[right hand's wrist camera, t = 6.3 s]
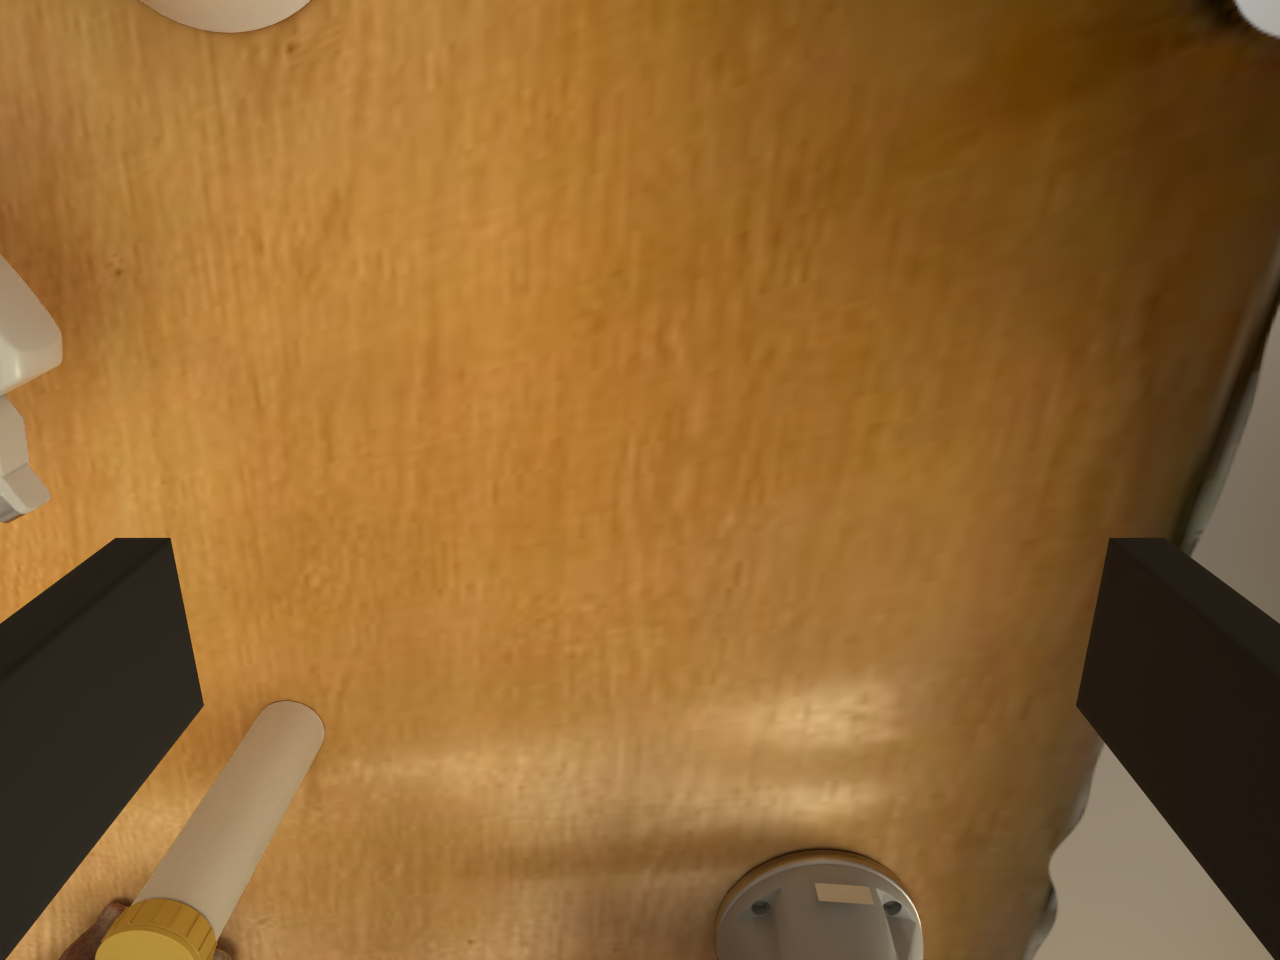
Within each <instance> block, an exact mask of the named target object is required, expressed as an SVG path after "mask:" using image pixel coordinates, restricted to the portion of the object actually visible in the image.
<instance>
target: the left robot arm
mask: <svg viewBox="0 0 1280 960" xmlns="http://www.w3.org/2000/svg"><path fill="white" fill-rule="evenodd" d="M140 1H141V2H143V3H144V4H145V5H147V6H148V7H150V8H151V9H153V10H155V11H156V12H158V13H160V14H162V15H163V16H165V17H167V18H169V19H172V20H174V21H176V22H179V23H181V24H184V25H187V26H190V27H193V28H197V29H201V30H206V31H212V32H223V33H235V32H246V31H253V30H257V29H261V28H265V27H268V26H271V25H273V24H275V23H278V22H280V21H282V20H284V19H286V18H288V17H290V16H291V15H293V14H294V13H296V12H297V11H299V10H300V9H301V8H303V7H304V6H305V5H306V4H307V3H308V2H310V1H311V0H140ZM62 356H63V348H62V334H61V331H60V329H59V327H58V326H57V324H56V322H55V321H54V319H53V318H52V317H51V315H50V314H49V312H48V311H47V310H46V308H45V307H44V306H43V304H42V303H41V302H40V300H39V299H38V298H37V296H36V295H35V294H34V293H33V291H32V290H31V289H30V288H29V287H28V285H27V284H26V283H25V282H24V280H23V279H22V278H21V277H20V276H19V274H18V273H17V272H16V271H15V270H14V269H13V267H12V266H11V265H10V264H9V263H8V262H7V261H6V259H5V258H4V257H3V256H2V255H1V254H0V521H1V522H4V523H9V522H11V521H13V520H15V519H17V518H19V517H21V516H23V515H25V514H27V513H29V512H31V511H33V510H35V509H36V508H38V507H40V506H41V505H43V504H44V503H46V502H47V501H49V500H50V492H49V490H48V489H47V487H46V486H45V485H44V484H43V482H42V481H41V480H40V478H39V477H38V476H37V475H36V473H35V472H34V471H33V470H32V468H31V467H30V466H29V465H28V462H30V460H29V453H28V446H27V439H26V432H25V425H24V418H23V417H22V415H21V414H20V413H19V411H18V410H17V409H16V408H15V406H14V405H13V404H12V403H11V401H10V400H9V399H8V398H7V396H6V394H8V393H10V392H12V391H13V390H15V389H17V388H19V387H21V386H23V385H24V384H26V383H28V382H30V381H32V380H34V379H35V378H37V377H39V376H41V375H43V374H45V373H46V372H48V371H50V370H52V369H54V368H55V367H57V366H59V365H60V364H61V362H62Z"/></svg>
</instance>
